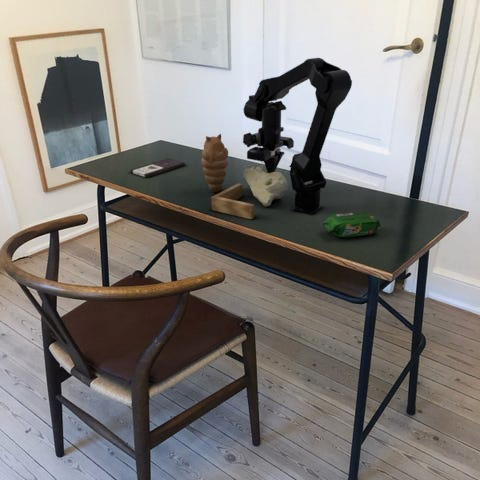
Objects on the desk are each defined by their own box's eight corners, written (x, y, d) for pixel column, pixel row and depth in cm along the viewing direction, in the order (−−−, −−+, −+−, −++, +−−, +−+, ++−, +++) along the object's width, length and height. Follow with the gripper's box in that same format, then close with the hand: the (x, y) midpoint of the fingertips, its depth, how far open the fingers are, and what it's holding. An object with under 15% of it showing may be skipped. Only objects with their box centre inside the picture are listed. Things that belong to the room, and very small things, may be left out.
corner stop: (276, 203, 160) (276, 191, 158) (251, 219, 150) (251, 206, 148) (238, 195, 167) (237, 183, 164) (211, 210, 157) (211, 197, 154)
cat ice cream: (210, 198, 165) (207, 139, 155) (197, 191, 170) (194, 134, 160) (233, 192, 169) (232, 135, 159) (220, 186, 174) (218, 129, 164)
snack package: (318, 231, 142) (319, 213, 139) (371, 225, 145) (374, 207, 142) (327, 242, 137) (329, 224, 134) (383, 235, 139) (386, 217, 136)
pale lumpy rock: (290, 213, 159) (296, 170, 163) (279, 201, 153) (285, 157, 157) (247, 220, 167) (253, 179, 171) (235, 209, 161) (242, 166, 165)
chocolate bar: (184, 162, 193) (146, 174, 182) (184, 165, 194) (147, 177, 182) (168, 158, 198) (130, 169, 187) (168, 160, 199) (130, 172, 188)
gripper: (264, 115, 167) (264, 164, 175) (231, 127, 154) (232, 180, 162) (295, 119, 162) (293, 169, 170) (264, 132, 149) (263, 186, 157)
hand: (270, 176), depth 165 cm, fingers closed
